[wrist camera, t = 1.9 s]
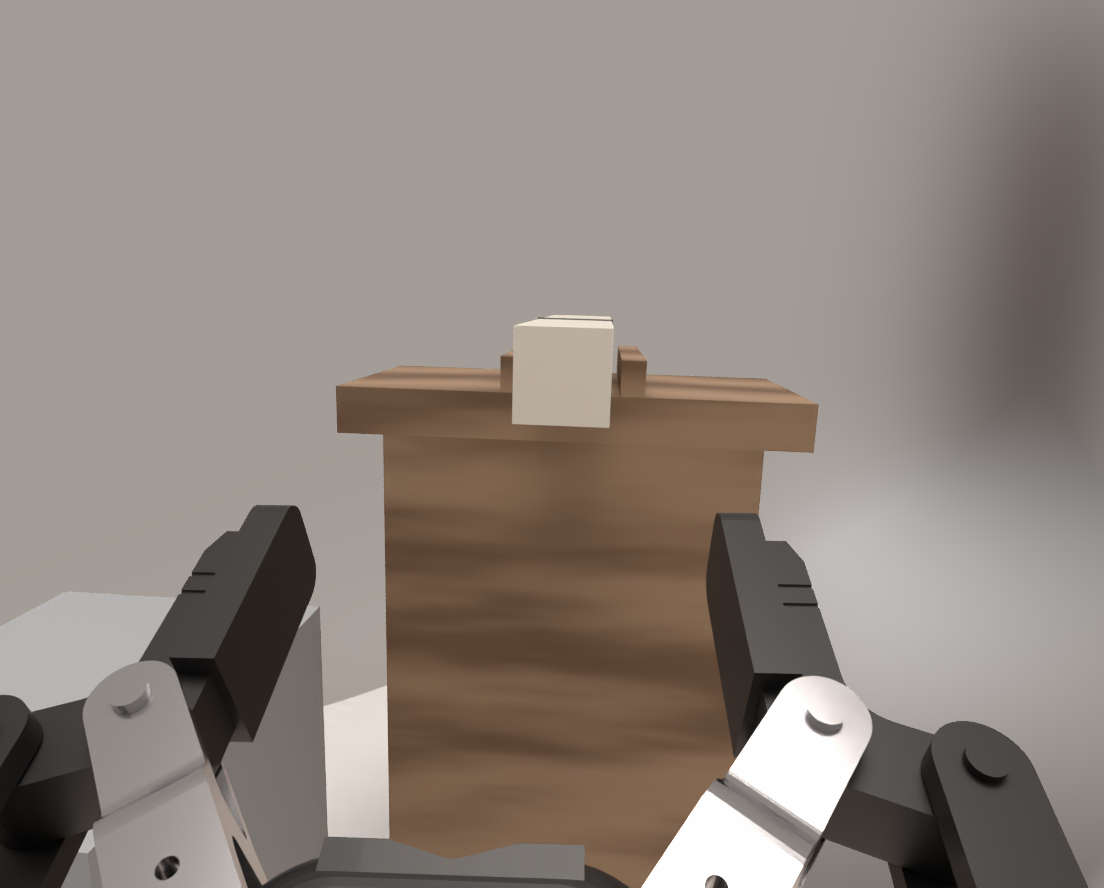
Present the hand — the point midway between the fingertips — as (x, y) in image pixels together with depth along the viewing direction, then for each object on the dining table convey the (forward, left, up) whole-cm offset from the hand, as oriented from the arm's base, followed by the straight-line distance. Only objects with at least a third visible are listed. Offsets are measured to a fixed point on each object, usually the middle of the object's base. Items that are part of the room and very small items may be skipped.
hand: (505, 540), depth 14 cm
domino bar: (-12, +13, +1) cm, 18 cm away
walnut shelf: (-15, +16, -31) cm, 38 cm away
